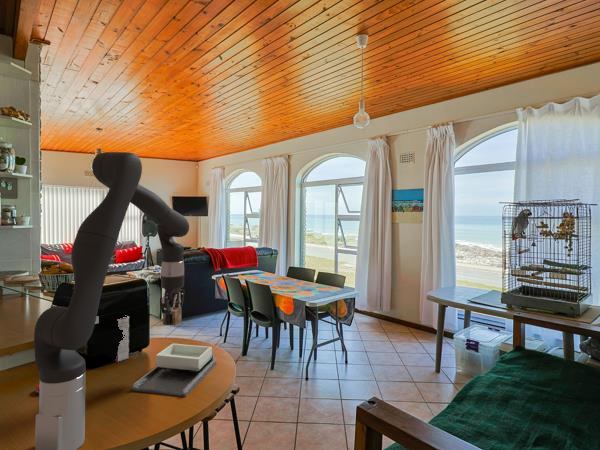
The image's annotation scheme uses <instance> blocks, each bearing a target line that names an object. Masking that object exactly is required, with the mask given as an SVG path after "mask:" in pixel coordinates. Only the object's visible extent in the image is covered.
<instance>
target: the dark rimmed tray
mask: <svg viewBox="0 0 600 450" xmlns="http://www.w3.org/2000/svg"><path fill="white" fill-rule="evenodd" d="M216 360H217V359H216V358H215V353H212V358H211V359H210V360H209V361H208V362H207V363H206V364H205V365H204V366H203V367H202V368H201V369H200V370H199V371H197V372H196V373H193V372H192V371H191V370H185V369H175V368H167V369H166V370H163V369H162V367H156V366H154V368H152V369H151V370H149V371H148V372H147V373H146V374H144V375H143V376H142V377H140V379H139V378H138V379H137V381H135V382H134V383H133V384H132V388H131V389H132V391H134V392H141V393H150V394H159V395H169V396H177V397H188V395H189V394H190V393H191V392H192V391H193V390H194V388H195V387H197V386H198V384H200V383H201V381H202V380H203V379H204V378H205V377H206V376H207V375H208V374H209V372H210V371H212V369H214V367H216V365H217V361H216Z"/></svg>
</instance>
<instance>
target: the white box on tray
mask: <svg viewBox="0 0 600 450" xmlns="http://www.w3.org/2000/svg"><path fill="white" fill-rule="evenodd" d="M212 354H213V347H212V346H205V345H194V344H182V343H181V344H180V343H171V344H170V345H169V346H167V347H165V348H164V349H163V350H161V351H159V353H157V354H155V367H162V369H163V370H166V369H167V368H175V369H185V370H191V371H192V372H193V373H196V372H197V371H199V370H200V369H201V368H202V367H203V366H204V365H205V364H206V363H207V362H208V361H209V360H210V359H211V358H212Z"/></svg>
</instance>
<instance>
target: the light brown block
mask: <svg viewBox="0 0 600 450" xmlns="http://www.w3.org/2000/svg"><path fill="white" fill-rule="evenodd" d="M169 308H170V307H169ZM165 318H166V315H165V314H163V313H162V325H164V326H167V325H166V323H165ZM180 323H182V307H181V308H179V307H173V313H172V324H171V325H170V326H177V325H179V324H180Z"/></svg>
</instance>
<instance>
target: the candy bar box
mask: <svg viewBox="0 0 600 450" xmlns="http://www.w3.org/2000/svg"><path fill="white" fill-rule="evenodd" d="M126 316H127V317H123V318H120V319H117V321H118V327H119V329H120V330H123V332H122V334H123V337H124V338H123V337H122V338H123V340H121V341H120V342H119V343H120V344H119V346H118V350H117V356H116V359H115V361H114V362H116V363H118V362H119V361H120V362H123V361H124V360H129V358H130V356H129V355H130V353H129V352H130V316H128V315H126ZM124 335H125V336H124Z"/></svg>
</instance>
